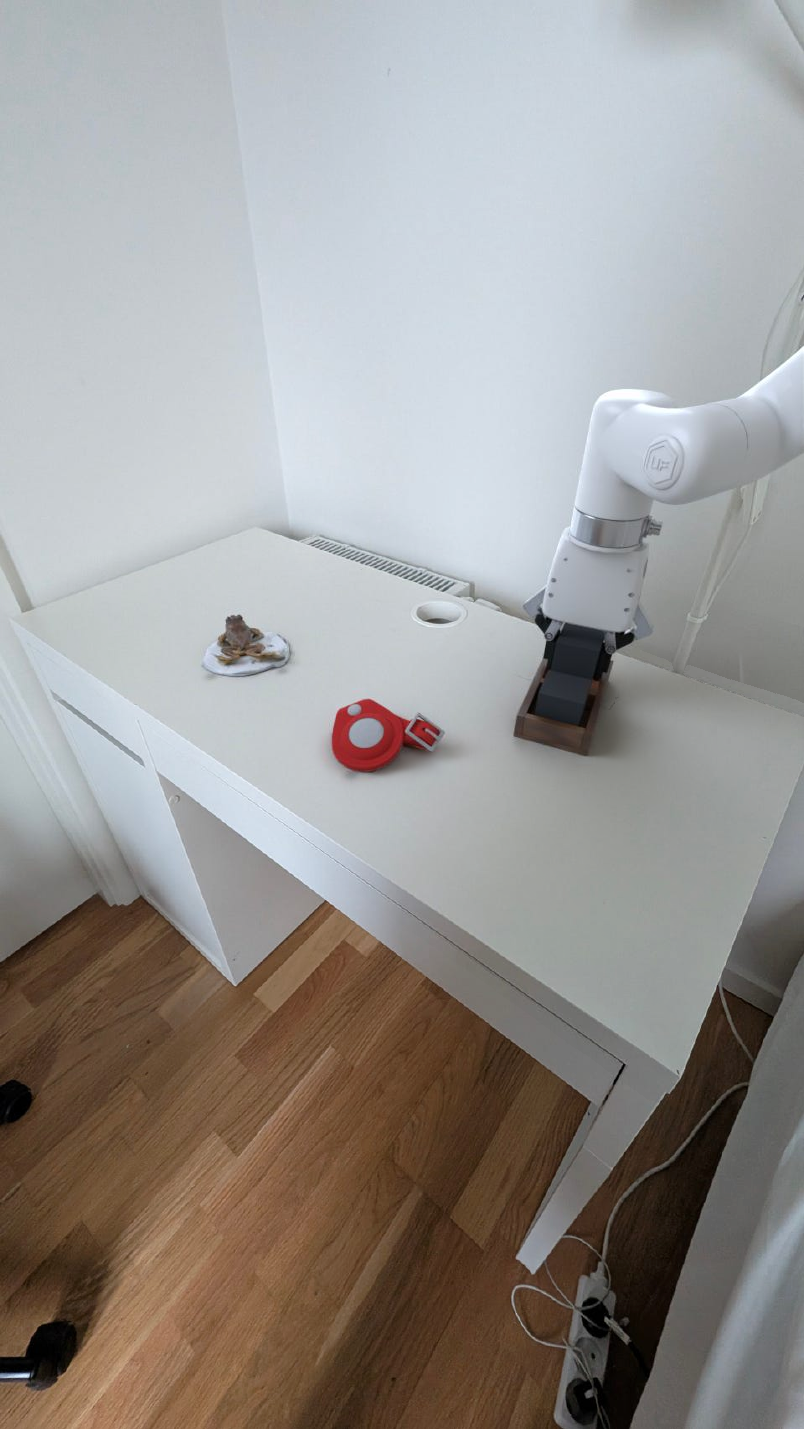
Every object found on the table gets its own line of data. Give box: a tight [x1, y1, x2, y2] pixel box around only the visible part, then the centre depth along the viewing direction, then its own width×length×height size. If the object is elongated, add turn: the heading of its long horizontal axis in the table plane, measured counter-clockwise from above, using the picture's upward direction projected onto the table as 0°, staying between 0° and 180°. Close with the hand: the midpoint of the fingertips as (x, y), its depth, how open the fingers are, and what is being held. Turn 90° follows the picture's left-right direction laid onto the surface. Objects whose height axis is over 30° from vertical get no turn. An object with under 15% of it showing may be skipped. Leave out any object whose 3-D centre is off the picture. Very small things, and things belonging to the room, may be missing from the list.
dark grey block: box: [551, 622, 605, 684], centre depth 70 cm, size 5×5×5 cm
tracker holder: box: [331, 698, 446, 772], centre depth 65 cm, size 12×4×10 cm
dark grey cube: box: [535, 670, 592, 727], centre depth 67 cm, size 5×5×5 cm
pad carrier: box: [513, 657, 615, 757], centre depth 70 cm, size 8×16×3 cm, turn 156°
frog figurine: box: [201, 614, 291, 677], centre depth 79 cm, size 12×12×4 cm
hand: (574, 668), depth 72 cm, fingers closed on dark grey block, 5 cm apart
